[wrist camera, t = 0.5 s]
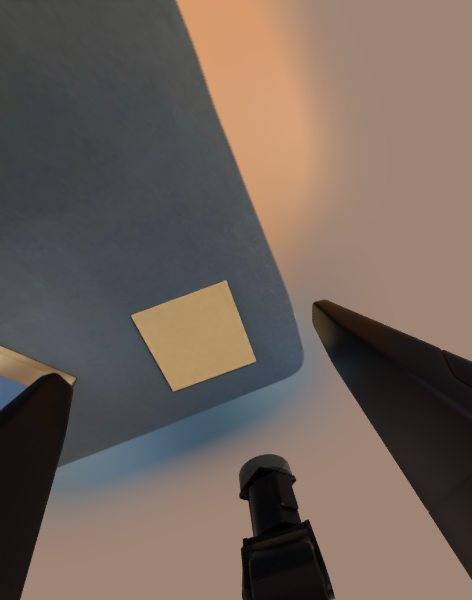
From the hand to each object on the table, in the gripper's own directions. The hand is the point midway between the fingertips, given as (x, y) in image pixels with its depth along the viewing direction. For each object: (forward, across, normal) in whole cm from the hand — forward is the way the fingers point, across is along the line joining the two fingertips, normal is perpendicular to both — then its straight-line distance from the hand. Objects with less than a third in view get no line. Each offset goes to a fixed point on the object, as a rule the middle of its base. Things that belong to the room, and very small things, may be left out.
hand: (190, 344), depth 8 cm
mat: (+12, +3, +11) cm, 17 cm away
